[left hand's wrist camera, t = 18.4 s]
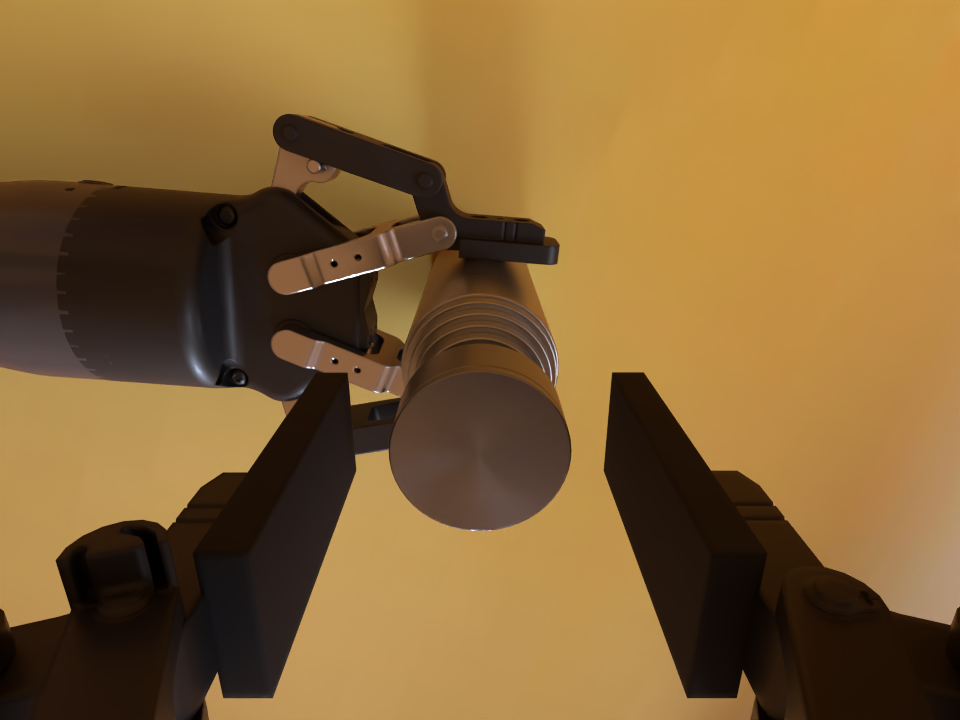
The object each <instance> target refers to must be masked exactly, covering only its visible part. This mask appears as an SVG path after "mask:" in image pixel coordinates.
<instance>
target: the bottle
mask: <svg viewBox="0 0 960 720" xmlns="http://www.w3.org/2000/svg"><path fill="white" fill-rule="evenodd" d="M458 257H459V251H454V250H442V251H439V252H438V254H437V256H436V258H435V261H434V264H433V267H432V269H431V272H430V275H429V278H428V281H427V284H426V286H425V289H424V292H423V295H422V298H421V300H420V303H419V306H418V309H417V312H416V314H415V317H414V320H413V323H412V326H411V329H410V331H409V334H408V337H407V340H406V343H405V345H404V349H403V354H402V362H401V370H402V378H403V383H404V387H406V385H407V384H408V382H409V380H410V379H411V377H412V376H413V375H414V373H415V372H416V371H417V370H418V369H419V368H420V367H421V366H422V365H423V364H424V363H425V362H427V361H428V360H430V359H431V358H432V357H434V356H436V355H438V354H439V353H441V352H443V351H446V350H448V349H451V348H454V347H458V346H462V345H468V344H492V345H498V346H502V347H506V348H509V349H512V350H514V351H517V352H519V353H521V354H523V355H524V356H526V357H528V358H529V359H531V360H532V361H533V362H535V363H536V364H537V365H538V366H539V367H540V368H541V369H542V370H543V371H544V372H545V373H546V375H547V376H548V377H549V379H550V380H551V382H552V384H553V385H554V387H556V383H557V378H558V369H559V363H558V354H557V350H556V345H555V343H554V340H553V337H552V334H551V332H550V329H549V326H548V323H547V320H546V318H545V315H544V312H543V309H542V306H541V304H540V301H539V298H538V295H537V292H536V290H535V287H534V284H533V281H532V278H531V276H530V273H529V270H528V267H527V264H526V263H519V262H506V261H493V260H487V259H468V258H458Z"/></svg>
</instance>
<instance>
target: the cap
mask: <svg viewBox="0 0 960 720" xmlns="http://www.w3.org/2000/svg"><path fill="white" fill-rule="evenodd" d="M389 461H390V465H391V470H392V473H393V476H394V478H395V481H396V483H397V484H398V486H399V488H400V490H401V491H402V493H403V494H404V495H405V497H406V498H407V499H408V500H409V501H410V502H411V503H412V504H413V506H415V507H416V508H417V509H418V510H419V511H421V512H422V513H423V514H425V515H427V516H428V517H430V518H431V519H433V520H435V521H438V522H440V523H442V524H445V525H448V526H450V527H454V528H459V529H463V530H472V531H488V530H497V529H502V528H506V527H510V526H512V525H515V524H518V523H520V522H523V521H525V520H527V519H529V518H530V517H532V516H533V515H535V514H537V513H538V512H539V511H541V510H542V509H543V508H544V507H546V506H547V504H548V503H549V502H550V501H551V500H552V499H553V498H554V497H555V495H556V494H557V493H558V491H559V490H560V488H561V486H562V485H563V483H564V481H565V478H566V476H567V473H568V470H569V466H570V461H571V439H570V435H569V431H568V427H567V424H566V420H565V417H564V414H563V410H562V407H561V404H560V400H559V397H558V394H557V392H556V389H555V387H554V385H553V384H552V382H551V380H550V379H549V377H548V376H547V375H546V373H545V372H544V371H543V370H542V369H541V368H540V367H539V366H538V365H537V364H536V363H535V362H533V361H532V360H531V359H529V358H528V357H526V356H524V355H523V354H521V353H519V352H517V351H514V350H512V349H509V348H506V347H502V346H498V345H492V344H468V345H462V346H458V347H454V348H451V349H448V350H446V351H443V352H441V353H439V354H438V355H436V356H434V357H432V358H431V359H430V360H428V361H427V362H425V363H424V364H423V365H422V366H421V367H420V368H419V369H418V370H417V371H416V372H415V373H414V375H413V376H412V377H411V379H410V380H409V382H408V384H407V385H406V387H405V390H404V392H403V394H402V397H401V401H400V404H399V407H398V411H397V414H396V417H395V421H394V424H393V427H392V431H391V435H390V441H389Z"/></svg>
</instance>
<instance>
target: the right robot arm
mask: <svg viewBox="0 0 960 720" xmlns="http://www.w3.org/2000/svg"><path fill="white" fill-rule="evenodd" d="M273 136H274V139H275V141H276V143H277V144H278V145H279V146H280V148H279V153H278V158H277V162H276V167H275V172H274V177H273V181H272V186H271V187H268V188H264V189H261V190H259V191H257V192H256V193H254V194H251V195H244V196H239V195H226V194H214V193H202V192H189V191H177V190H165V189H152V188H140V187H128V186H114V185H113V184H110V183H106V182H100V181H91V180H83V181H79V182H65V181H44V180H32V181H14V182H0V367H3V368H7V369H12V370H16V371H21V372H26V373H32V374H37V375H45V376H54V377H68V378H83V379H98V380H111V381H124V382H138V383H152V384H166V385H179V386H193V387H207V388H231V387H246V388H250V389H254V390H256V391H259V392H261V393H263V394H265V395H266V396H268V397H270V398H272V399H274V400H278V401H282V404H283V407H284V410H285V413H286V416H287V415H288V413H289V412H290V410H291V409H292V407H293V406H294V404H295V403H296V401H297V400H298V398H299V397H300V396H301V394H302V393H303V391H304V390H305V388H306V387H307V385H308V384H309V382H310V381H311V380H312V378H313V377H314V375H315V374H316V372H348V381H349V383H352V384H354V385H357V386H360V387H362V388H365V389H367V390H370V391H372V392H376V393H382V392H390V393H393V394H395V395H398V396H400V397H402V394H403V392H404V390H405V387H404V383H403V378H402V370H401V362H402V354H403V349H404V345H405V344H404V343H403V342H402V341H401V340H400V339H399V338H397V337H395V336H393V335H390V334H388V333H385V332H383V331H380V330H378V329H377V313H376V309H375V305H374V301H373V294H374V290H375V287H376V284H377V280H378V270H379V269H383V268H387V267H390V266H392V265H395V264H397V263H399V262H401V261H404V260H408V259H412V258H416V257H419V256H423V255H427V254H431V253H434V252H438V251H442V250H454V251H459V257H458V258H468V259H487V260H493V261H506V262H519V263H532V264H545V265H554V264H557V261H558V254H559V246H560V245H559V243H558V242H557V241H556V239H554V238H551V237H545V229H544V228H543V226H542V225H541V224H539V223H537V222H535V221H533V220H531V219H529V218H517V217H516V218H514V217H503V216H491V215H479V214H468V213H464V212H462V211H460V210H459V209H458V208H456V206H455V205H454V204H453V202H452V200H451V196H450V193H449V189H448V186H447V182H446V173H445V170H444V168H443V166H442V165H441V164H440V163H438V162H437V161H435V160H432V159H429V158H426V157H423V156H421V155H418V154H415V153H412V152H409V151H407V150H404V149H401V148H398V147H396V146H393V145H390V144H387V143H384V142H382V141H379V140H376V139H373V138H371V137H368V136H365V135H362V134H359V133H357V132H354V131H351V130H348V129H345V128H343V127H340V126H337V125H334V124H332V123H329V122H326V121H323V120H320V119H318V118H315V117H312V116H305V115H295V114H285V115H282V116H280V117H279V118H278V119H277V120H276V122H275V123H274V126H273ZM340 170H343V171H345V172H348V173H351V174H354V175H357V176H360V177H362V178H365V179H368V180H371V181H374V182H377V183H380V184H382V185H385V186H388V187H391V188H394V189H397V190H400V191H402V192H405V193H408V194H411V195H413V198H414V201H415V205H416V208H417V211H418V214H419V215H416V216H412V217H409V218H405V219H401V220H394V221H390V222H386V223H382V224H379V225H375V226H371V227H368V228H364V229H360V230H357V231H353V232H352V231H351V230H350V229H348V228H347V227H346V226H345V225H343V224H342V223H341V222H340V221H338V220H337V219H336V218H335V217H333V216H332V215H331V214H330V213H329V212H327V211H326V210H325V209H324V208H322V207H321V206H320V205H319V204H317V203H316V202H315V201H314V200H312V199H311V198H310V197H309V196H307V195H306V194H305V193H304V192H303V190H304V188H305V186H306V185H307V184H308V183H309V182H317V183H324V182H327V181H330V180H333V179H335V178H336V177H337V176H338V175H339V173H340ZM372 343H373V344H372ZM400 401H401V398H395V399H389V400H383V401H377V402H370V403H364V404H358V405H352V406H351V416H352V427H353V439H354V450H355V455H358V454H365V453H371V452H378V451H384V450H389V441H390V435H391V431H392V427H393V424H394V421H395V417H396V414H397V411H398V407H399V404H400Z"/></svg>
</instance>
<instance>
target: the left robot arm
mask: <svg viewBox="0 0 960 720" xmlns="http://www.w3.org/2000/svg"><path fill="white" fill-rule="evenodd" d="M355 473H356V462H355V450H354V439H353V427H352V416H351V404H350V393H349V381H348V372H316V374H315V375H314V377H313V378H312V380H311V381H310V382H309V384H308V385H307V387H306V388H305V390H304V391H303V393H302V394H301V396H300V397H299V398H298V400H297V401H296V403H295V404H294V406H293V407H292V409H291V410H290V412H289V413H288V415H287V416H286V417H285V419H284V420H283V422H282V423H281V425H280V426H279V428H278V429H277V431H276V432H275V434H274V435H273V436H272V438H271V439H270V441H269V442H268V444H267V445H266V447H265V448H264V450H263V451H262V452H261V454H260V455H259V457H258V458H257V460H256V461H255V463H254V464H253V466H252V467H251V469H250V470H249V471H248V473H222V474H220V475H219V476H217V477H216V478H214V479H213V480H211V481H210V482H208V483H207V484H205V485H204V486H202V487H201V488H200V489H199V490H198V492H197V493H196V494H195V495H194V497H193V498H192V499H191V501H190V502H189V503H188V504H187V508H184V509H183V511H182V512H181V513H180V514H179V516H178V517H177V518H176V523H172V525H171V526H170V527H169V528H168V530H167V531H166V529H165V528H163V527H162V526H161V525H160V524H158V523H156V522H151V521H146V520H134V521H123V522H119V523H115V524H111V525H108V526H104V527H101V528H99V529H97V530H95V531H92V532H90V533H88V534H86V535H84V536H82V537H80V538H79V539H78V540H76V541H75V542H73V543H72V544H70V545H69V546H68V547H66V548H65V549H64V551H63V552H62V553H61V554H60V556H59V557H58V558H57V559H56V563H57V567H58V570H59V573H60V576H61V579H62V582H63V586H64V589H65V592H66V595H67V598H68V601H69V605H70V608H71V612H70V614H67V615H63V616H60V617H55V618H51V619H46V620H42V621H37V622H33V623H28V624H24V625H19V626H15V627H11V628H10V627H9V624H8V621H7V619H6V616H5V613H4V611H3V610H1V609H0V720H209V718H208V711H207V706H206V701H205V696H206V694H207V692H208V690H209V688H210V686H211V684H212V682H213V680H214V678H215V676H216V674H217V672H218V675H219V680H220V685H221V689H222V694H223V698H273V696H274V693H275V690H276V688H277V685H278V682H279V679H280V677H281V674H282V671H283V669H284V666H285V663H286V660H287V658H288V655H289V652H290V650H291V647H292V644H293V641H294V639H295V636H296V633H297V630H298V628H299V625H300V622H301V620H302V617H303V614H304V611H305V609H306V606H307V603H308V601H309V598H310V595H311V592H312V590H313V587H314V584H315V581H316V579H317V576H318V573H319V571H320V568H321V565H322V562H323V560H324V557H325V554H326V552H327V549H328V546H329V543H330V541H331V538H332V535H333V532H334V530H335V527H336V524H337V522H338V519H339V516H340V513H341V511H342V508H343V505H344V503H345V500H346V497H347V494H348V492H349V489H350V486H351V483H352V481H353V478H354V475H355ZM604 473H605V475H606V478H607V481H608V483H609V486H610V489H611V492H612V494H613V497H614V500H615V503H616V505H617V508H618V511H619V513H620V516H621V519H622V522H623V524H624V527H625V530H626V532H627V535H628V538H629V541H630V543H631V546H632V549H633V552H634V554H635V557H636V560H637V562H638V565H639V568H640V571H641V573H642V576H643V579H644V581H645V584H646V587H647V590H648V592H649V595H650V598H651V601H652V603H653V606H654V609H655V611H656V614H657V617H658V620H659V622H660V625H661V628H662V630H663V633H664V636H665V639H666V641H667V644H668V647H669V650H670V652H671V655H672V658H673V660H674V663H675V666H676V669H677V671H678V674H679V677H680V679H681V682H682V685H683V688H684V690H685V693H686V696H687V698H737V694H738V689H739V685H740V680H741V675H742V670H743V671H744V673H745V675H746V677H747V679H748V681H749V683H750V685H751V687H752V689H753V691H754V693H755V695H756V697H755V701H754V706H753V710H752V714H751V719H750V720H960V607H959V608H957V611H956V613H955V616H954V619H953V621H952V624H951V625H948V624H943V623H939V622H934V621H930V620H925V619H921V618H916V617H912V616H907V615H903V614H899V613H895V612H892V611H889V609H888V607H887V606H886V604H885V603H884V602H883V600H882V599H881V597H880V596H879V595H878V594H877V593H876V592H874V591H873V590H872V589H871V588H869V587H868V586H867V585H866V584H864V583H863V582H861V581H859V580H857V579H855V578H853V577H851V576H849V575H847V574H845V573H843V572H839V571H836V570H833V569H829V568H826V567H824V566H823V565H822V564H821V562H820V561H819V560H818V559H817V557H816V556H815V555H814V553H813V552H812V551H811V550H810V548H809V547H808V546H807V545H806V543H805V542H804V541H803V540H802V538H801V537H800V536H799V535H798V533H797V532H796V531H795V530H794V528H793V527H792V526H791V525H790V523H789V522H788V521H787V520H785V519H784V516H783V514H782V513H781V512H780V511H779V509H778V508H777V507H776V506H773V502H772V501H771V499H770V498H769V497H768V496H767V494H766V493H765V492H764V491H763V489H762V488H761V487H760V486H759V485H758V484H756V483H755V482H753V481H752V480H750V479H749V478H747V477H746V476H744V475H743V474H741V473H740V472H738V471H711V470H710V469H709V467H708V466H707V464H706V463H705V461H704V460H703V458H702V457H701V455H700V454H699V452H698V451H697V450H696V448H695V447H694V445H693V444H692V442H691V441H690V439H689V438H688V436H687V435H686V434H685V432H684V431H683V429H682V428H681V426H680V425H679V423H678V422H677V420H676V419H675V417H674V416H673V415H672V413H671V412H670V410H669V409H668V407H667V406H666V404H665V403H664V401H663V400H662V399H661V397H660V396H659V394H658V393H657V391H656V390H655V388H654V387H653V385H652V384H651V382H650V381H649V380H648V378H647V377H646V375H645V374H644V372H612V381H611V393H610V404H609V416H608V427H607V439H606V450H605V462H604Z"/></svg>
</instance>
